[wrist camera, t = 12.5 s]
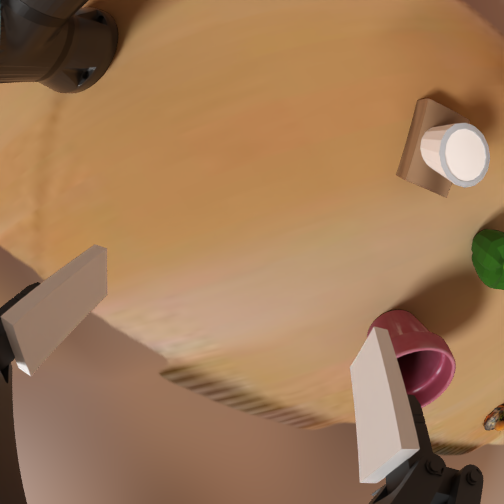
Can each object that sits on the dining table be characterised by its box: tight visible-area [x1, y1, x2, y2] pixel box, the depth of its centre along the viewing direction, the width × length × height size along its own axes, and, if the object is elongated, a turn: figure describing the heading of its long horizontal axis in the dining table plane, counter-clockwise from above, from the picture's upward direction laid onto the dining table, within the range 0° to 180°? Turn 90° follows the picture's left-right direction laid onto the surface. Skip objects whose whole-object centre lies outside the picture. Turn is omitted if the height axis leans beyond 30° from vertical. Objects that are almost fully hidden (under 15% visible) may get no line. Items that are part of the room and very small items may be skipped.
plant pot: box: [367, 310, 456, 408], centre depth 40 cm, size 14×14×13 cm
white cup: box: [420, 123, 490, 187], centre depth 27 cm, size 7×7×7 cm
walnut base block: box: [396, 98, 470, 198], centre depth 32 cm, size 6×11×4 cm, turn 167°
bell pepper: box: [471, 229, 504, 290], centre depth 33 cm, size 8×8×10 cm
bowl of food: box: [483, 405, 504, 431], centre depth 49 cm, size 12×12×8 cm
